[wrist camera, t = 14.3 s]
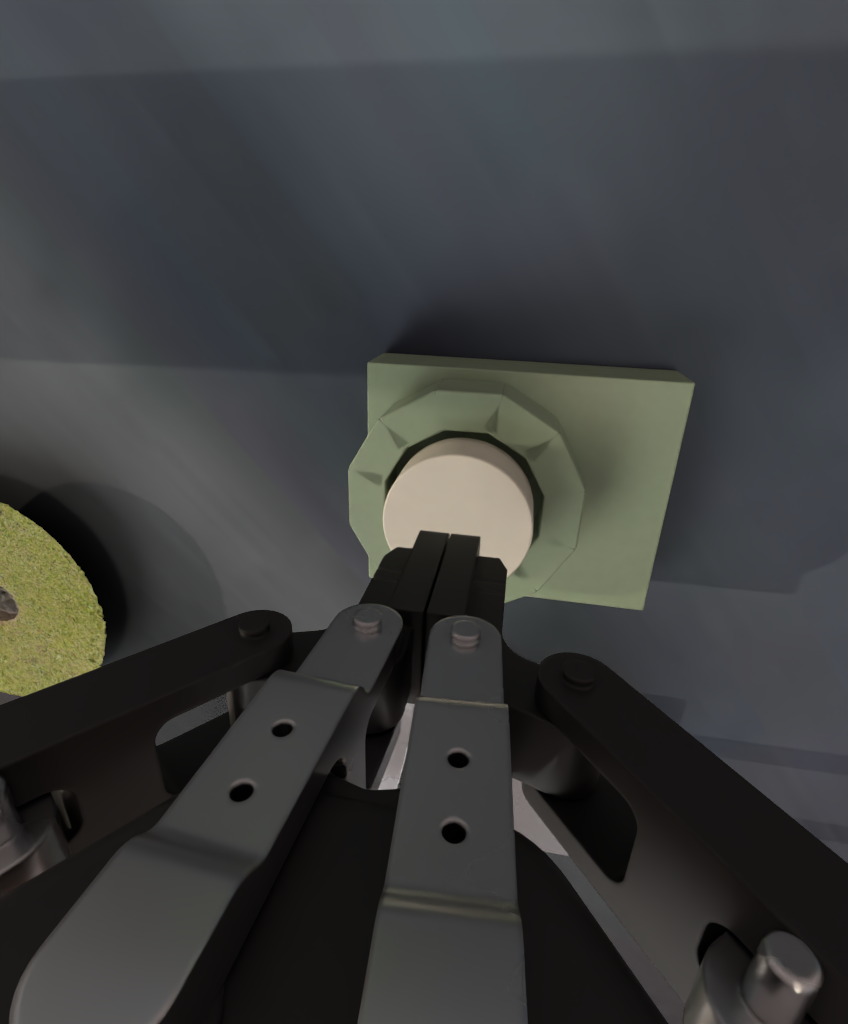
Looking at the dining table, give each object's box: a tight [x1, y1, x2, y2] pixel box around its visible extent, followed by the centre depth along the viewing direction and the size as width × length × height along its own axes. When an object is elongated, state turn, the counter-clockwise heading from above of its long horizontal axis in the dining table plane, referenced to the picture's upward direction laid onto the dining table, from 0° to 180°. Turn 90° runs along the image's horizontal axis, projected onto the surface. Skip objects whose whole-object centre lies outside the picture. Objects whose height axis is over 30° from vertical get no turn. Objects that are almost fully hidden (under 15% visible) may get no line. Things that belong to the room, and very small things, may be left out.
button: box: [383, 438, 534, 577], centre depth 17 cm, size 4×4×2 cm
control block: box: [348, 353, 695, 610], centre depth 19 cm, size 10×8×4 cm
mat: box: [0, 502, 107, 696], centre depth 26 cm, size 11×11×2 cm
